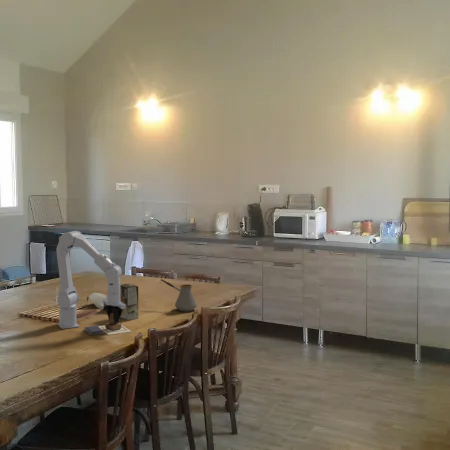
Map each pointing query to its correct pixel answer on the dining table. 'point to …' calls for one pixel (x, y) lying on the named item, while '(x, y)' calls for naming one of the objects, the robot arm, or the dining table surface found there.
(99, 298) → the sculpture
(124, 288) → the coffee box
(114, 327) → the stamp
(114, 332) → the sheet
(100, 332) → the ink pad
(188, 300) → the coffee pot
